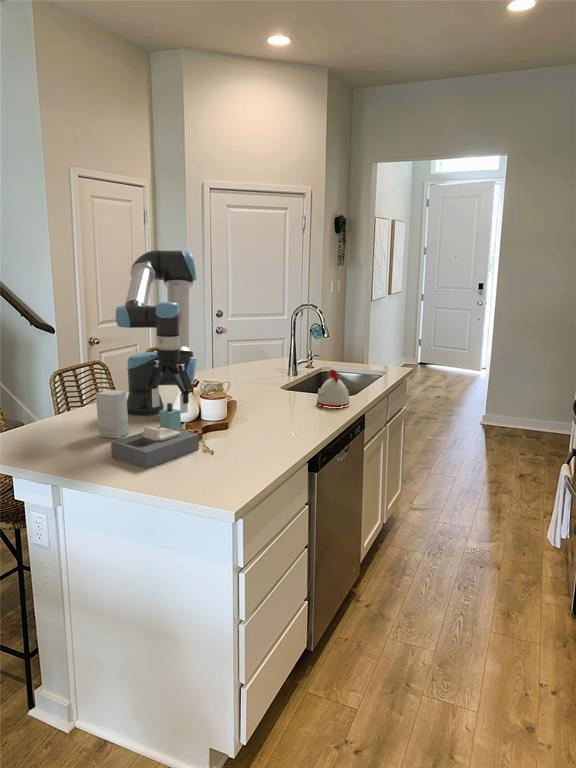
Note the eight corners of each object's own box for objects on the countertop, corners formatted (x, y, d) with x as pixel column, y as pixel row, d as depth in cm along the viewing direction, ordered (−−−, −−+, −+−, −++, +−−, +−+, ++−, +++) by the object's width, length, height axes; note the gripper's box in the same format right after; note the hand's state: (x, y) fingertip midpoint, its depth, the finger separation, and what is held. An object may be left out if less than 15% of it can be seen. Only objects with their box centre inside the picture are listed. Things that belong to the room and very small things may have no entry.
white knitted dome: (341, 399, 259) (342, 366, 256) (354, 407, 247) (356, 372, 244) (312, 401, 255) (313, 368, 252) (324, 409, 242) (325, 374, 239)
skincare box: (129, 434, 205) (127, 390, 201) (118, 439, 199) (116, 395, 195) (109, 431, 207) (107, 388, 204) (97, 436, 201) (95, 392, 198)
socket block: (111, 457, 181) (110, 441, 180) (164, 440, 199) (163, 425, 198) (147, 468, 172) (146, 452, 171) (198, 449, 190) (198, 434, 189)
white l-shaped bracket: (141, 436, 185) (140, 426, 184) (162, 429, 192) (162, 419, 192) (159, 441, 180) (159, 430, 180) (181, 434, 188) (180, 424, 187)
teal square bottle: (160, 436, 203) (159, 403, 201) (170, 432, 207) (169, 401, 205) (170, 438, 201) (169, 406, 198) (180, 435, 205) (180, 403, 202)
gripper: (134, 346, 201) (136, 406, 206) (187, 353, 188) (188, 417, 192) (150, 344, 207) (152, 402, 212) (203, 350, 194) (204, 412, 198)
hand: (169, 409), depth 202 cm, fingers open, 13 cm apart
